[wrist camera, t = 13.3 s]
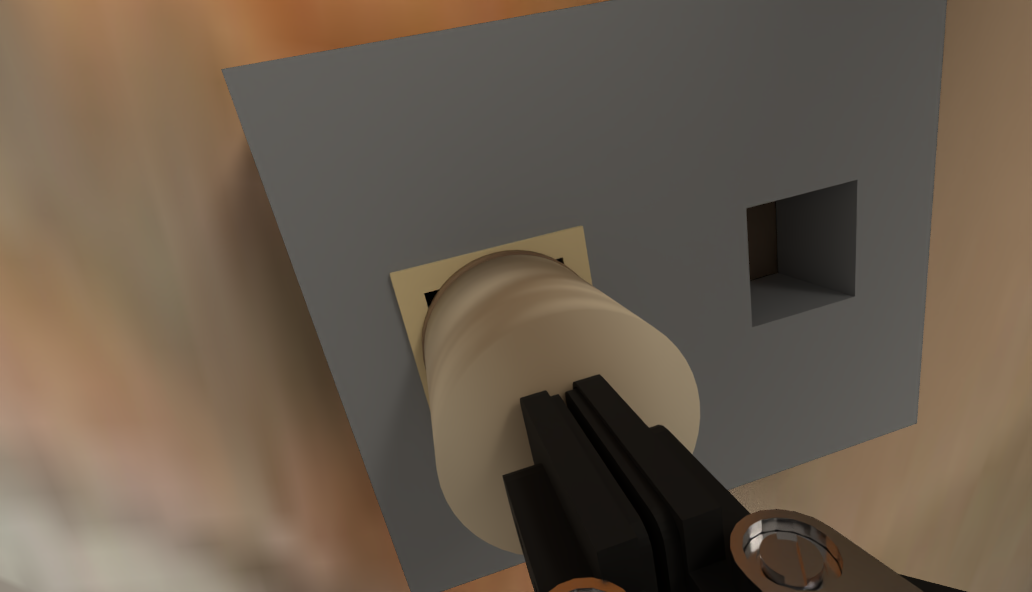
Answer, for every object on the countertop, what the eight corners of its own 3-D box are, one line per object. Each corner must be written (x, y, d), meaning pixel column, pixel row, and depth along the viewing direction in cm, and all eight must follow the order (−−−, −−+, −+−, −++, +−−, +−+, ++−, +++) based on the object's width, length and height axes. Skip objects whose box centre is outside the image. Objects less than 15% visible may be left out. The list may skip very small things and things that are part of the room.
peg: (549, 216, 18) (690, 274, 9) (573, 351, 20) (711, 508, 11) (400, 253, 17) (396, 355, 8) (439, 390, 19) (471, 594, 10)
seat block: (842, -17, 19) (958, -63, 15) (838, 382, 25) (921, 425, 21) (265, 90, 16) (218, 67, 12) (412, 523, 21) (414, 606, 17)
